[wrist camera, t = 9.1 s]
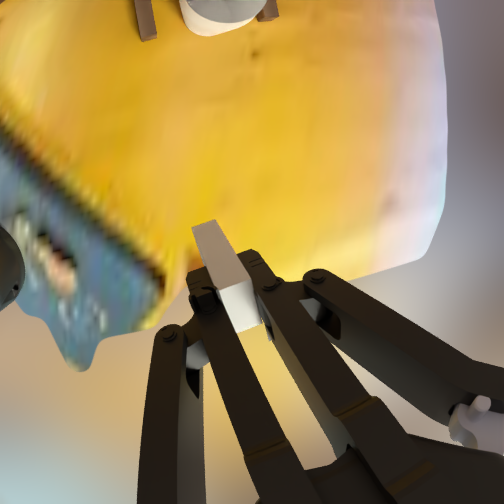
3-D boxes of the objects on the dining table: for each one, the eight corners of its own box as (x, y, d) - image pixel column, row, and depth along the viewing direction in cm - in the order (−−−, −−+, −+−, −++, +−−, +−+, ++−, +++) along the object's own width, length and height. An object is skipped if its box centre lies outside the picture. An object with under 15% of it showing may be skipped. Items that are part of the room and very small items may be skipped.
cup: (181, -15, 28) (191, -51, 18) (245, -6, 31) (276, -35, 21) (168, 41, 32) (173, 19, 22) (234, 48, 35) (263, 32, 25)
